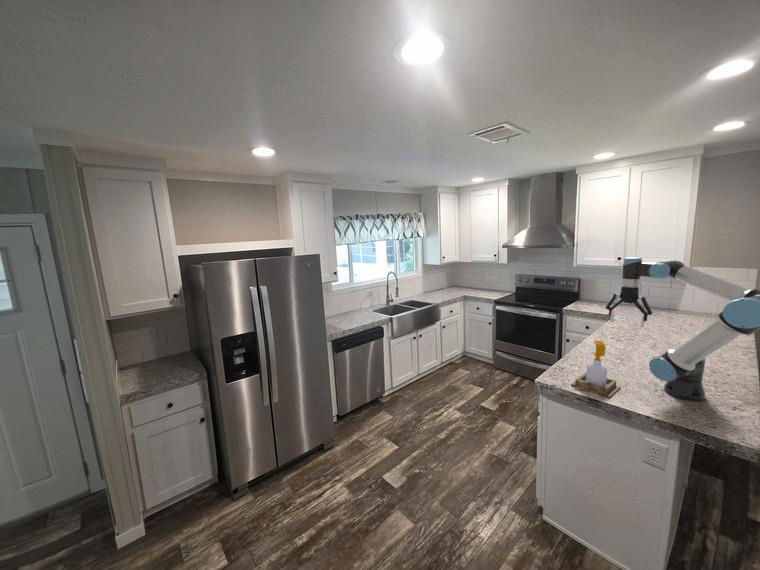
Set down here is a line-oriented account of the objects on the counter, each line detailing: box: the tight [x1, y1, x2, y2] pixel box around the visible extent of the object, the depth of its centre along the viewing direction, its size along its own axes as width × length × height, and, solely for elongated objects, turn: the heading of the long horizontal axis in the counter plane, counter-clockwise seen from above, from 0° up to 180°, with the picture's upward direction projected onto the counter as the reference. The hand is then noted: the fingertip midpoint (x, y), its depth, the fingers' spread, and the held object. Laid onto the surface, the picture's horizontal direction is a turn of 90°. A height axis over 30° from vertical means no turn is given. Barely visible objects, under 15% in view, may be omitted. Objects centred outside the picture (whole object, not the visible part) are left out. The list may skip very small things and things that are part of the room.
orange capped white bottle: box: [585, 340, 608, 388], centre depth 169 cm, size 9×9×25 cm
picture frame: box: [570, 372, 621, 399], centre depth 171 cm, size 18×16×4 cm
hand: (626, 324), depth 172 cm, fingers open, 13 cm apart
